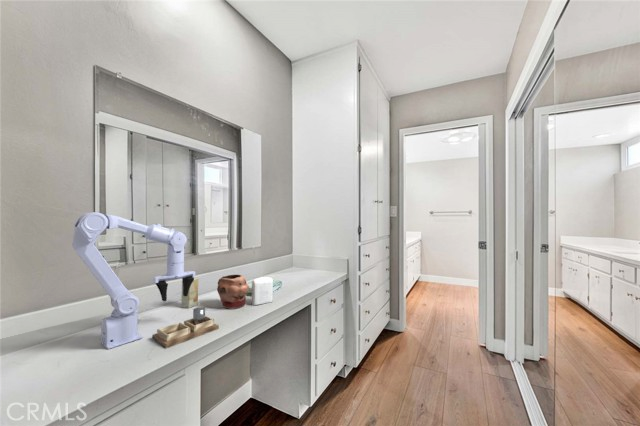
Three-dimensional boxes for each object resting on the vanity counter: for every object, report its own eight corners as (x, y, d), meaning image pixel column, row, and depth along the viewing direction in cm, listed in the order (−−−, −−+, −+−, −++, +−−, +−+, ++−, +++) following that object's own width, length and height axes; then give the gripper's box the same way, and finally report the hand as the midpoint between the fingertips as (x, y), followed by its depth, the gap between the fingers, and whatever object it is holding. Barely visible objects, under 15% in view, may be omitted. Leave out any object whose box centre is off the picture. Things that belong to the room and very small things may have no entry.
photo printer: (270, 300, 129) (270, 275, 130) (274, 302, 126) (274, 276, 126) (250, 303, 123) (250, 278, 124) (253, 306, 120) (253, 279, 120)
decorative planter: (205, 305, 121) (206, 276, 121) (226, 298, 131) (226, 271, 132) (237, 313, 111) (237, 280, 112) (256, 304, 122) (256, 275, 122)
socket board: (166, 348, 81) (166, 337, 81) (152, 338, 88) (152, 328, 88) (218, 328, 96) (218, 319, 96) (203, 321, 102) (203, 313, 102)
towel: (234, 295, 138) (234, 286, 138) (255, 285, 158) (256, 277, 158) (264, 299, 132) (264, 288, 132) (282, 288, 153) (282, 279, 153)
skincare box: (189, 308, 117) (189, 281, 117) (180, 307, 118) (181, 280, 118) (198, 303, 123) (198, 278, 124) (190, 303, 124) (190, 277, 124)
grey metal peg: (196, 328, 93) (196, 311, 93) (190, 325, 95) (191, 309, 95) (207, 324, 96) (207, 308, 96) (201, 322, 98) (201, 306, 98)
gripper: (159, 266, 91) (158, 305, 91) (199, 261, 102) (198, 295, 102) (151, 264, 95) (150, 301, 95) (190, 259, 107) (190, 292, 106)
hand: (175, 298), depth 99 cm, fingers open, 7 cm apart
